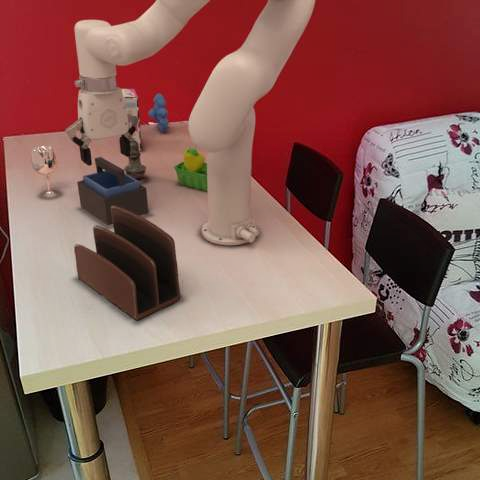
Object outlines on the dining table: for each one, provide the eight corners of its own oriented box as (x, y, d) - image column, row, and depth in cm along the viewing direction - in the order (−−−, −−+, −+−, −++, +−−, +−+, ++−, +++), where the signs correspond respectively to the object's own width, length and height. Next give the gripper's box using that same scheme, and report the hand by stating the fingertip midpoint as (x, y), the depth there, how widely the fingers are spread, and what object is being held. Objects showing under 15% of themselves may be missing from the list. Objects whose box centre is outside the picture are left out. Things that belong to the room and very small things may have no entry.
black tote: (148, 215, 138) (146, 187, 135) (108, 227, 132) (104, 199, 128) (120, 197, 146) (117, 171, 143) (81, 208, 140) (77, 181, 136)
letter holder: (121, 261, 119) (113, 198, 112) (181, 300, 108) (177, 233, 101) (77, 278, 113) (66, 213, 106) (136, 322, 102) (129, 252, 94)
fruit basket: (224, 184, 156) (224, 144, 150) (206, 195, 149) (205, 153, 144) (189, 176, 161) (187, 136, 155) (170, 186, 154) (168, 145, 148)
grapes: (146, 126, 197) (143, 90, 191) (165, 125, 200) (163, 89, 193) (152, 136, 188) (150, 99, 182) (173, 135, 190) (171, 98, 184)
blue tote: (142, 212, 138) (137, 166, 132) (109, 222, 133) (103, 175, 127) (118, 198, 145) (113, 153, 139) (87, 207, 140) (80, 161, 134)
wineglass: (66, 192, 148) (59, 146, 142) (53, 200, 143) (45, 154, 137) (46, 189, 149) (38, 144, 143) (33, 197, 145) (24, 151, 138)
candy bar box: (143, 151, 176) (138, 96, 168) (126, 152, 175) (120, 97, 166) (139, 139, 185) (134, 87, 177) (123, 140, 184) (117, 88, 175)
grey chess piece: (135, 186, 153) (131, 142, 147) (120, 180, 156) (115, 137, 150) (151, 180, 157) (148, 137, 151) (137, 174, 160) (133, 132, 154)
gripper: (69, 92, 116) (79, 172, 125) (143, 82, 126) (148, 156, 135) (52, 84, 120) (63, 162, 129) (125, 75, 131) (131, 147, 140)
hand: (106, 159), depth 132 cm, fingers open, 9 cm apart
